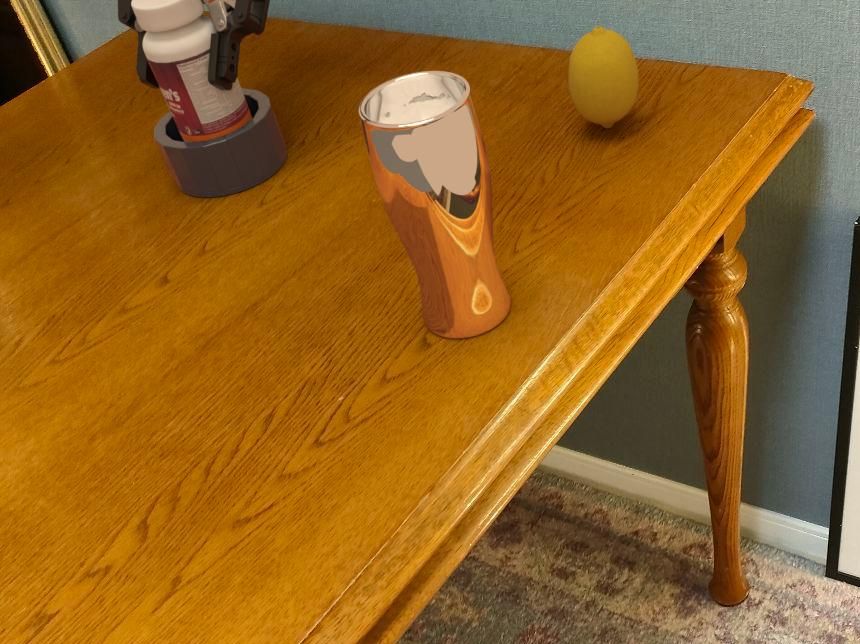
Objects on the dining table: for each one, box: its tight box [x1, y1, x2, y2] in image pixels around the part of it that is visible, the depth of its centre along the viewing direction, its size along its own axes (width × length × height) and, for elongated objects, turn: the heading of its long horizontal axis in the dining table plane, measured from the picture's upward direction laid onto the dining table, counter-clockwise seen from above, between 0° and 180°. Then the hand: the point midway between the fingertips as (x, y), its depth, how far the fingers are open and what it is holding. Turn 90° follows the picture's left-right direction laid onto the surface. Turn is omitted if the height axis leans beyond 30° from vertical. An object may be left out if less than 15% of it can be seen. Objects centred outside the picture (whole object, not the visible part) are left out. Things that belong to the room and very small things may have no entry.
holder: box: [153, 87, 288, 198], centre depth 86 cm, size 10×10×4 cm
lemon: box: [567, 25, 640, 129], centre depth 79 cm, size 6×6×8 cm
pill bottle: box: [131, 0, 252, 142], centre depth 81 cm, size 6×6×11 cm
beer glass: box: [358, 70, 512, 340], centre depth 63 cm, size 7×7×15 cm
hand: (185, 85), depth 81 cm, fingers closed on pill bottle, 6 cm apart
